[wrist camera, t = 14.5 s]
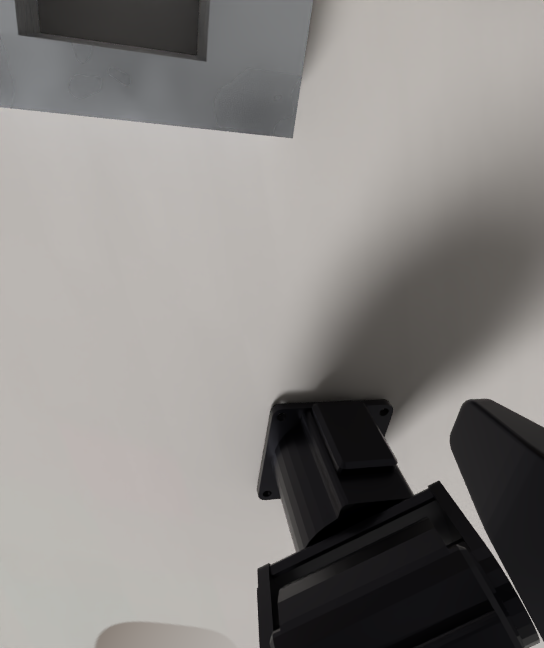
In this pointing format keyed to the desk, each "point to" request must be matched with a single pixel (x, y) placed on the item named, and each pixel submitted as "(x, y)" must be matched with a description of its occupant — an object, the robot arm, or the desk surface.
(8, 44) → the socket
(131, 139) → the desk surface
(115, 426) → the desk surface
